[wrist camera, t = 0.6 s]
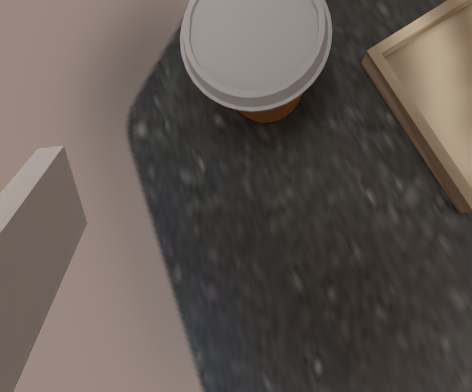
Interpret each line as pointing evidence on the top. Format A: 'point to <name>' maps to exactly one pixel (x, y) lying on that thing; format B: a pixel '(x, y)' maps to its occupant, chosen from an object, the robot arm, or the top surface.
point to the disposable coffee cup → (256, 52)
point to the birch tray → (433, 91)
